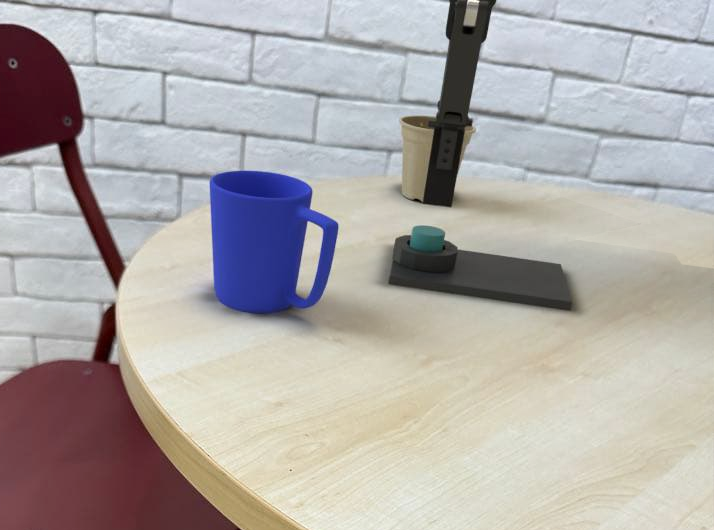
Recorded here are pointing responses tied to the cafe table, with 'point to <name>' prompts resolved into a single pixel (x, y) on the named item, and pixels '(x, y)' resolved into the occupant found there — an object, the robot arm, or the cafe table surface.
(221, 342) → the cafe table surface
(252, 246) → the mug
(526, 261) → the dark grey piece
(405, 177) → the flower pot
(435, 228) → the button
